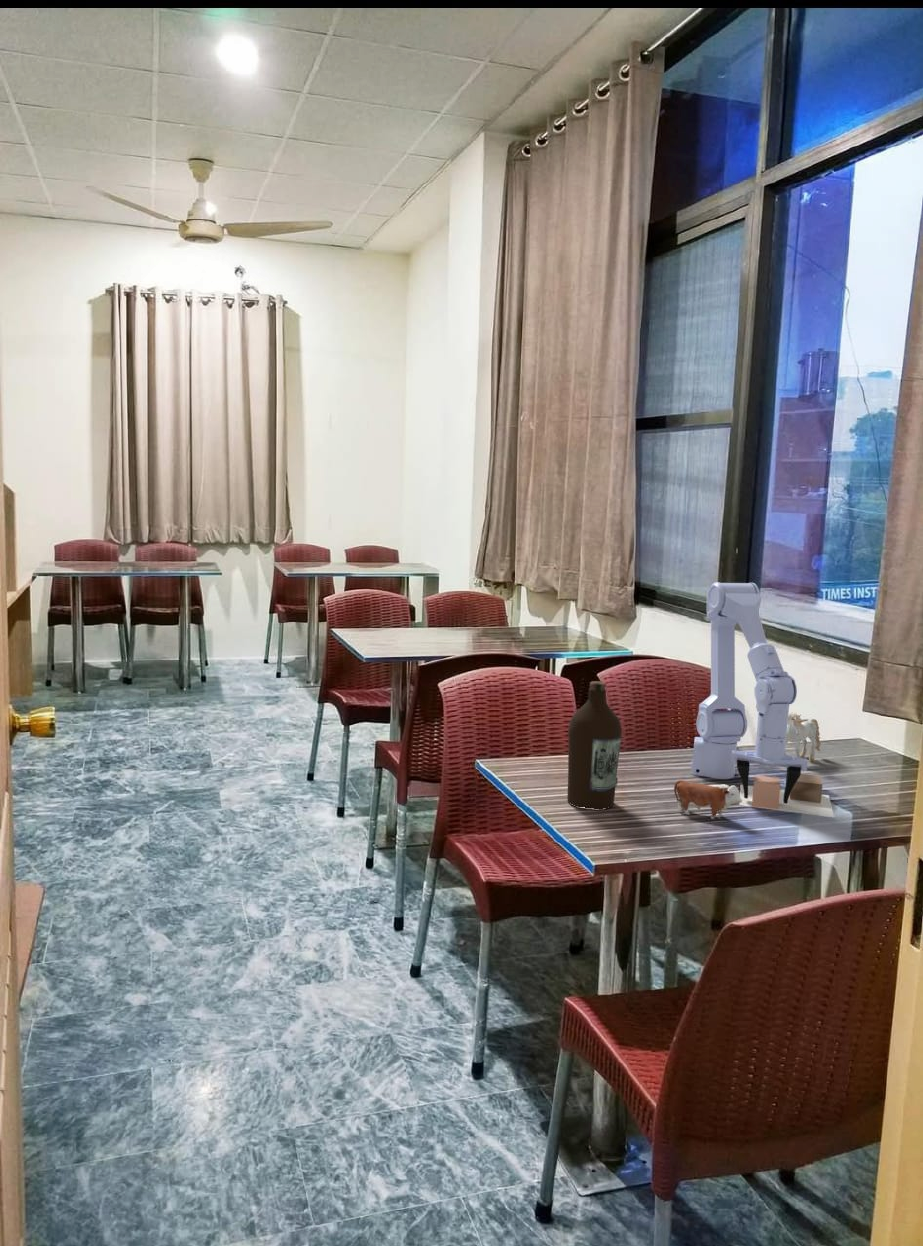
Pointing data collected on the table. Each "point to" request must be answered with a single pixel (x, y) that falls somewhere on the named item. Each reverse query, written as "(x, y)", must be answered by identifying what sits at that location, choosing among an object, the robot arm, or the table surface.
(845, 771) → the table surface
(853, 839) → the table surface
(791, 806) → the base plate
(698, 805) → the bull figurine
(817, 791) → the walnut block
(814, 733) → the unicorn figurine
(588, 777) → the brown bottle
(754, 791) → the terracotta block
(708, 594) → the robot arm
